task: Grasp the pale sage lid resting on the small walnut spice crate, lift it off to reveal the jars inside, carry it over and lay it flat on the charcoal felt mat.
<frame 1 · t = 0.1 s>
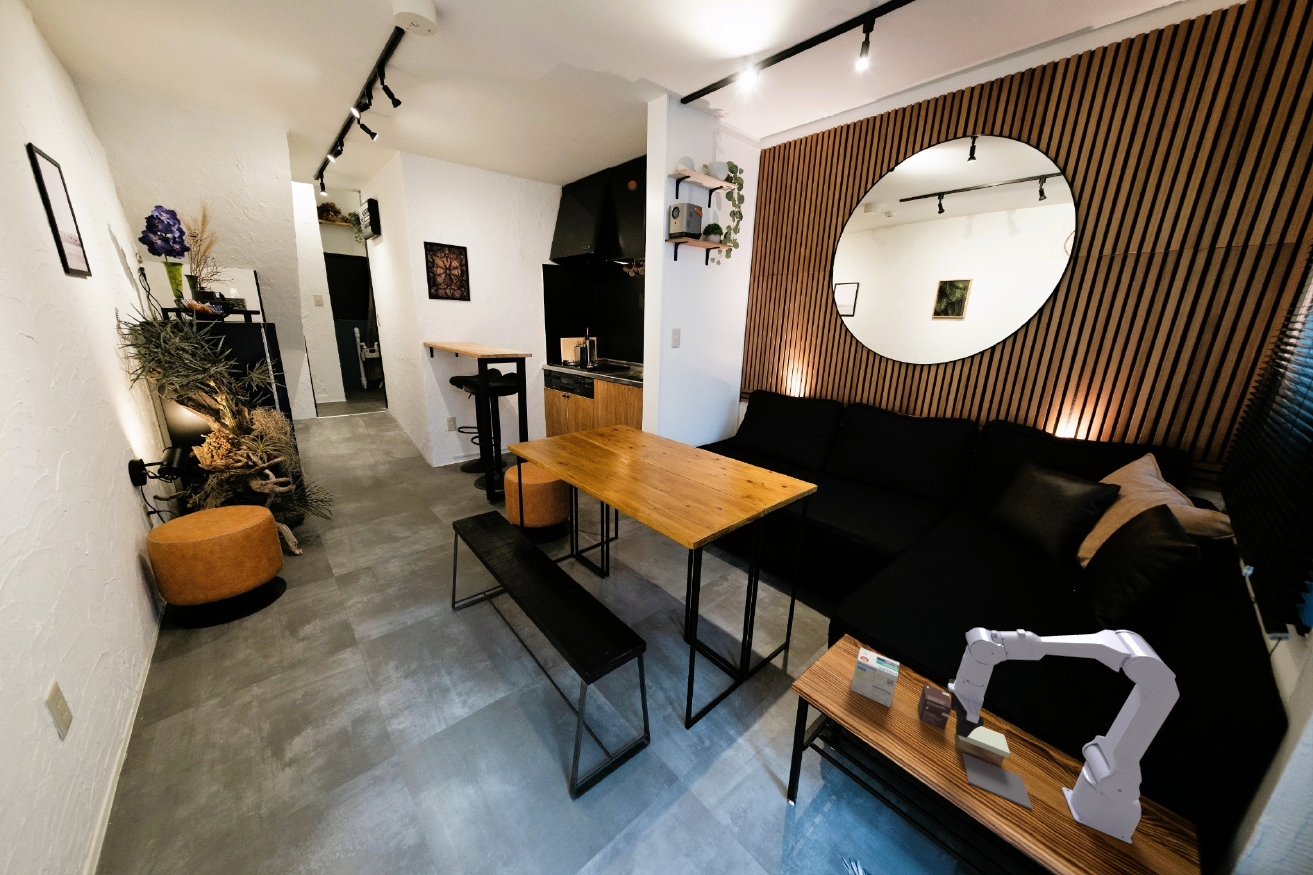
hand: (958, 722, 107), 10 cm above the table, fingers open, 7 cm apart
crate: (976, 751, 111), on the table
lid: (980, 739, 110), point 4 cm above the table, touching crate
box: (930, 717, 120), on the table
mat: (995, 780, 104), on the table
light bulb box: (870, 691, 127), on the table
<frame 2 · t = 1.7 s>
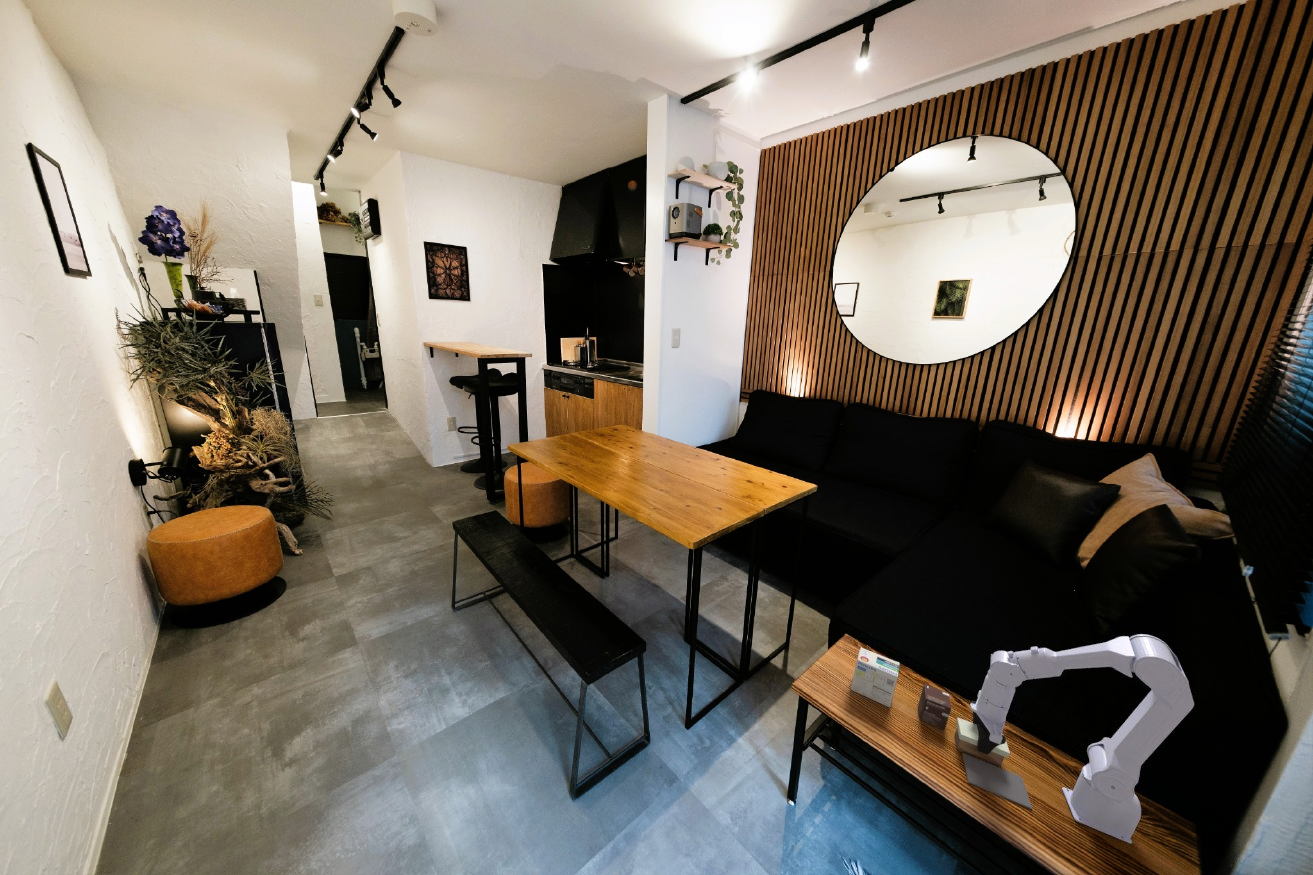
hand: (980, 741, 110), 3 cm above the table, fingers closed on lid, 5 cm apart
lid: (980, 739, 110), point 4 cm above the table, touching crate, gripper
everything else where it was.
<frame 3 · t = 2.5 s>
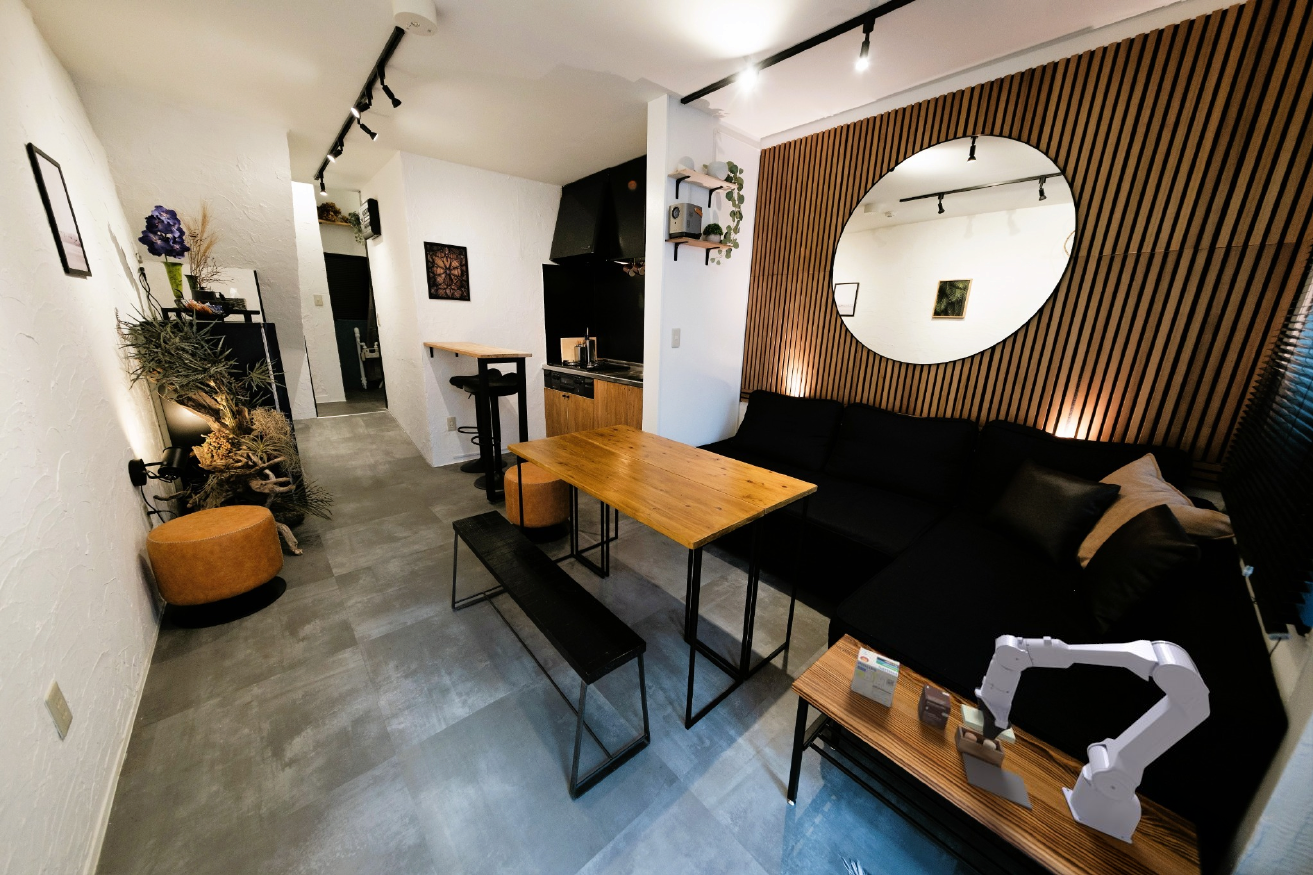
hand: (985, 727, 109), 8 cm above the table, fingers closed on lid, 5 cm apart
lid: (985, 725, 108), point 8 cm above the table, touching gripper
everything else where it was.
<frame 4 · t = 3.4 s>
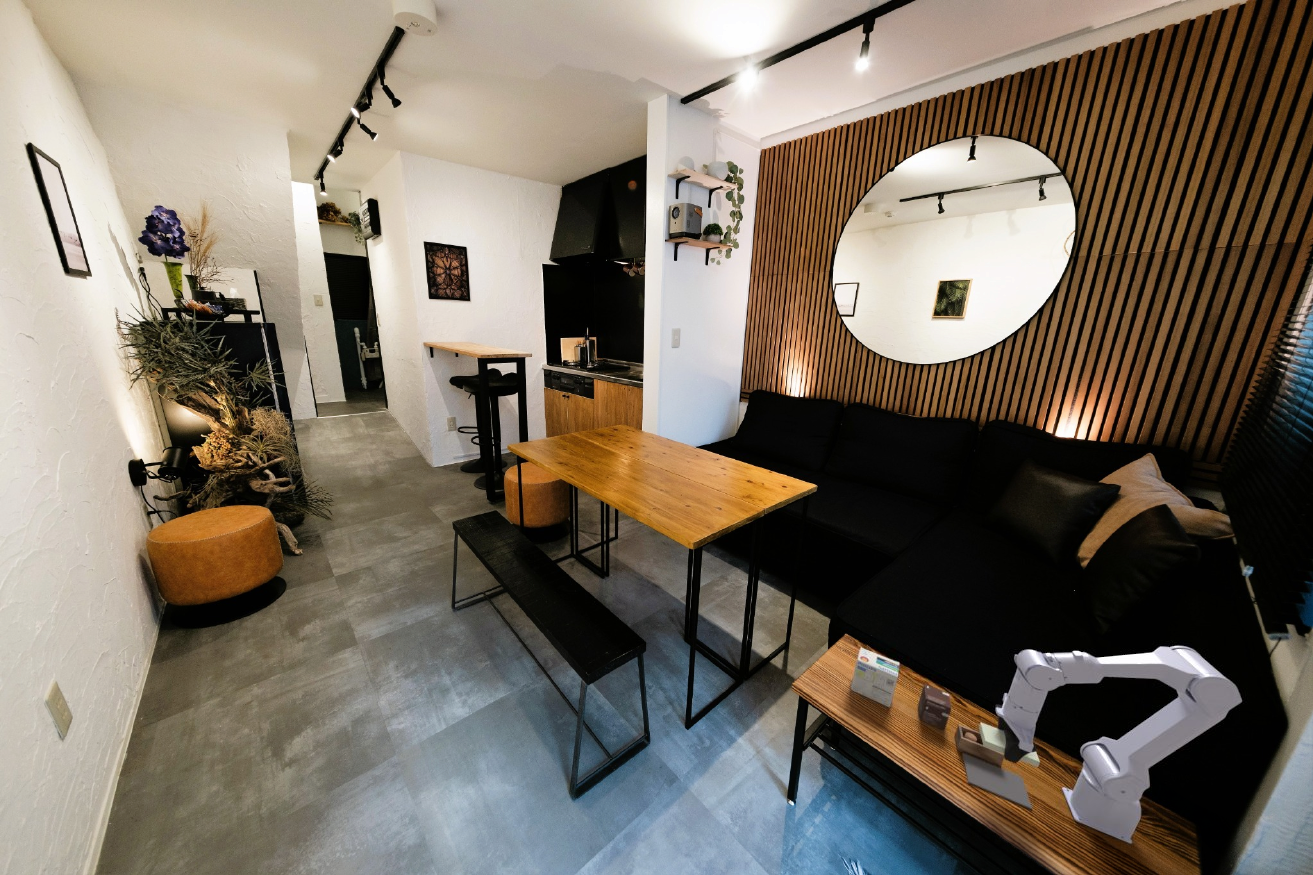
hand: (1006, 748, 101), 10 cm above the table, fingers closed on lid, 5 cm apart
lid: (1007, 746, 101), point 10 cm above the table, touching gripper
everything else where it was.
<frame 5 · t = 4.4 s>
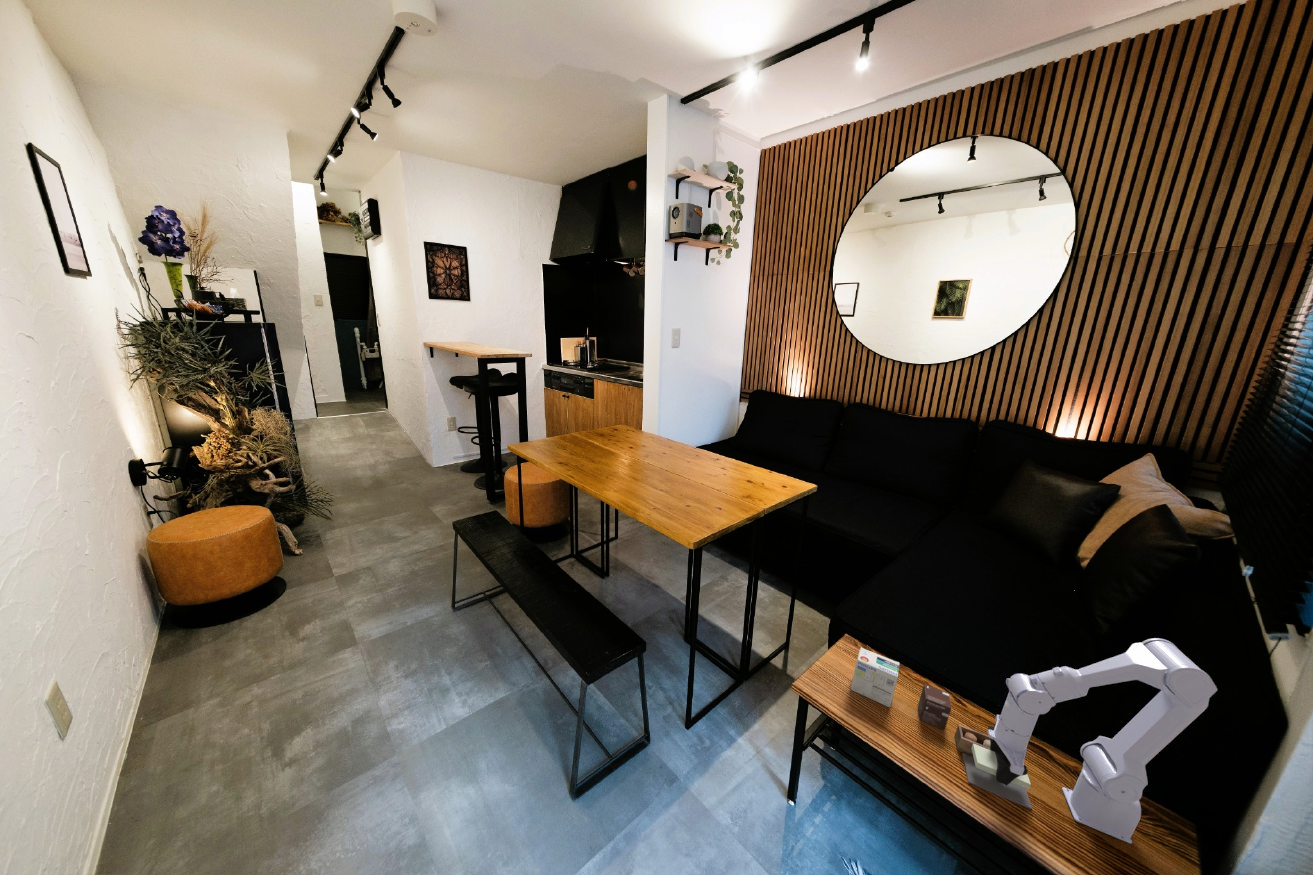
hand: (998, 770, 103), 3 cm above the table, fingers closed on lid, 5 cm apart
lid: (998, 767, 103), point 4 cm above the table, touching gripper
everything else where it was.
when the fingers open (2 cm above the table, at t = 5.3 s): lid drops 2 cm, resting on mat.
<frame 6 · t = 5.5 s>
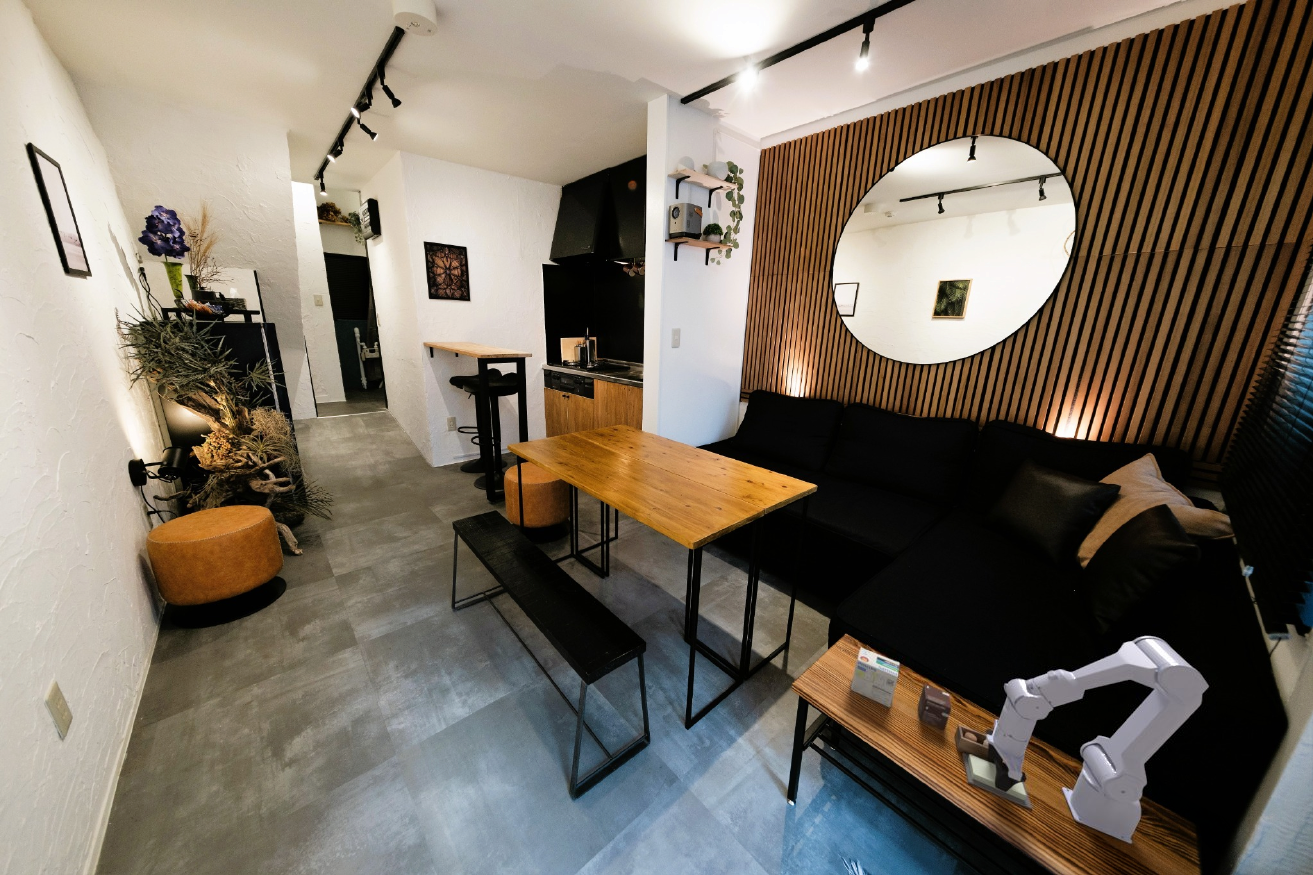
hand: (996, 775, 103), 2 cm above the table, fingers open, 6 cm apart
lid: (994, 778, 104), resting on mat
everything else where it was.
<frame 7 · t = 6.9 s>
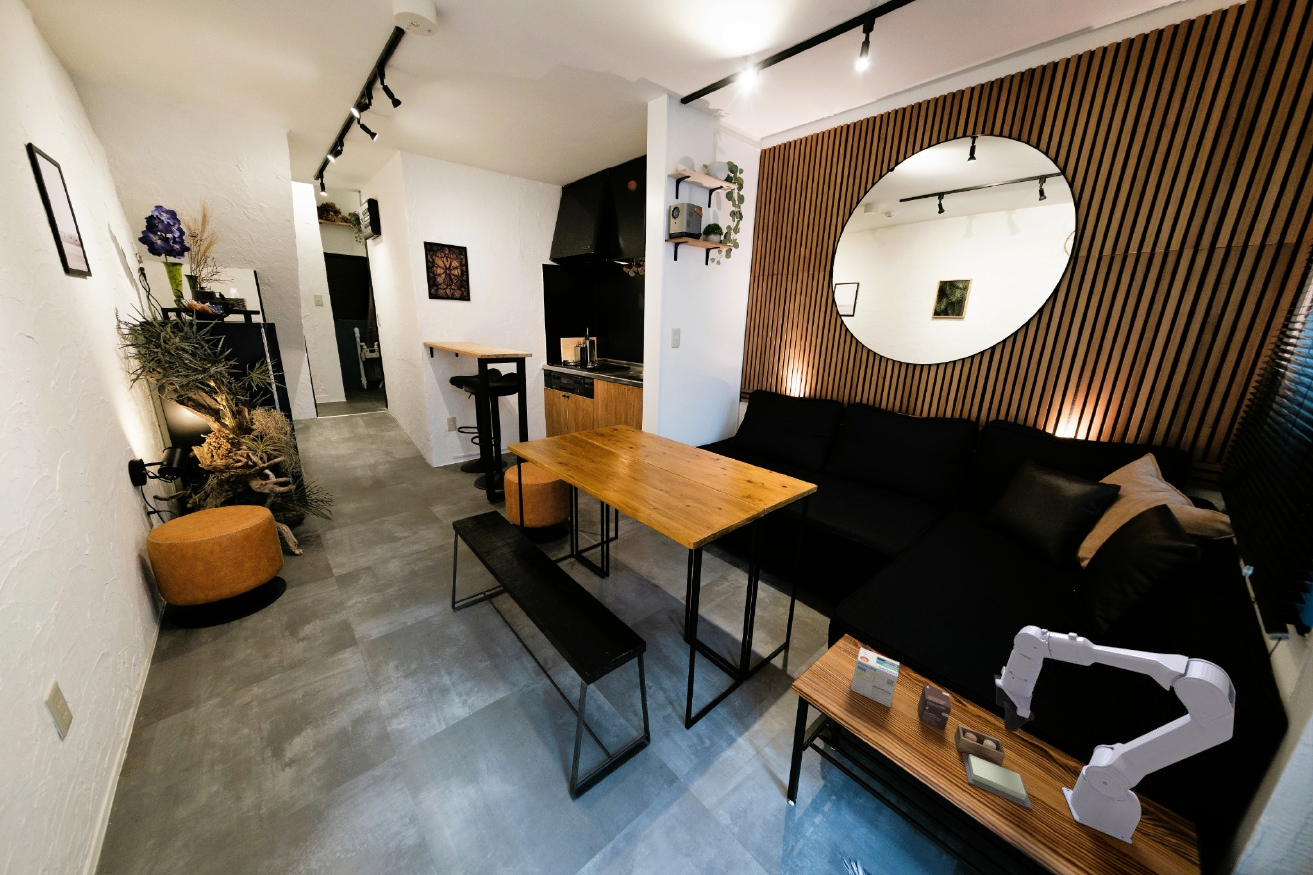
hand: (1005, 717, 109), 10 cm above the table, fingers open, 7 cm apart
nothing on the table moved.
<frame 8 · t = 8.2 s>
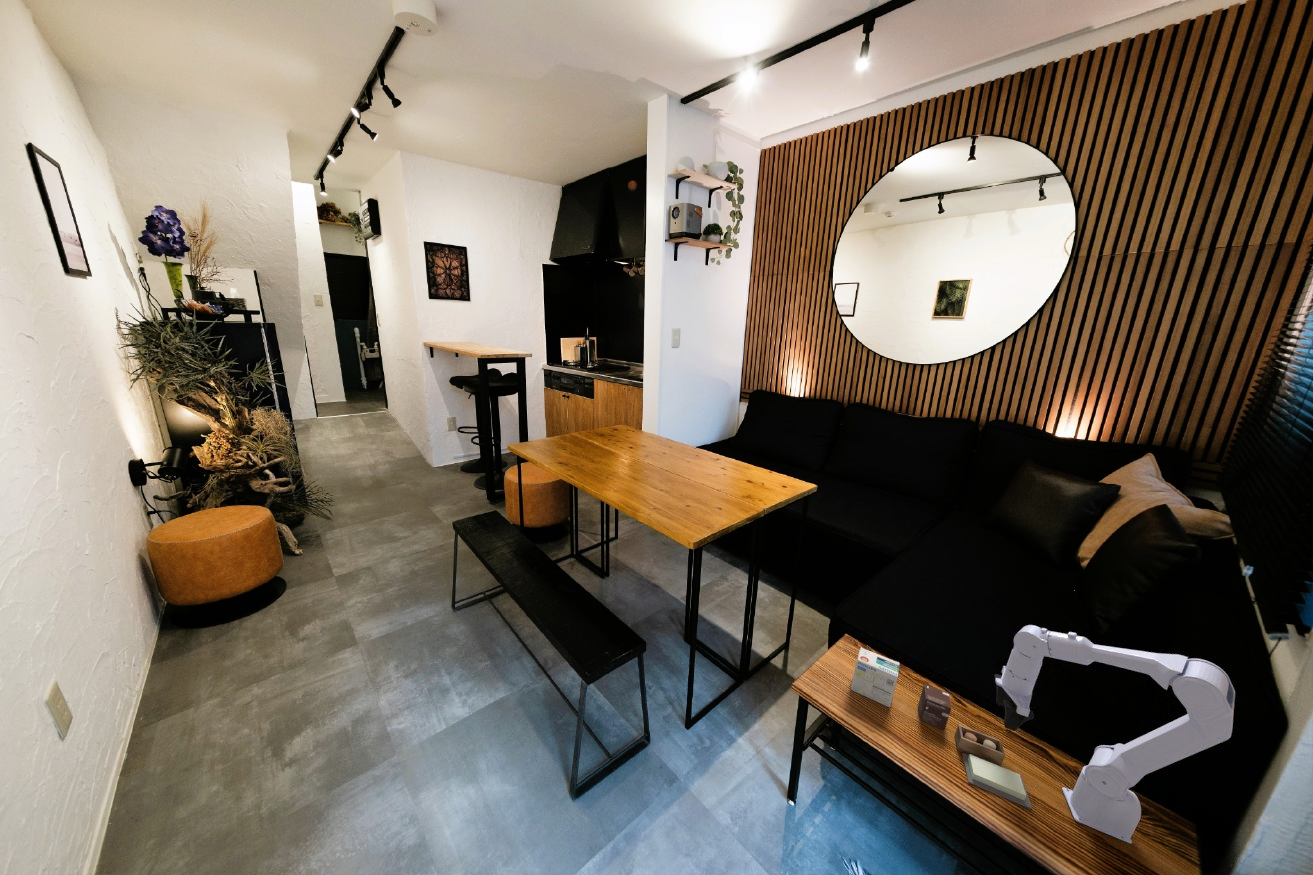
hand: (1005, 716, 110), 10 cm above the table, fingers open, 7 cm apart
nothing on the table moved.
at the end: lid inside the target area (0.1 cm from its centre), resting on mat; lid tilted 0°; lid touching mat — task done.
